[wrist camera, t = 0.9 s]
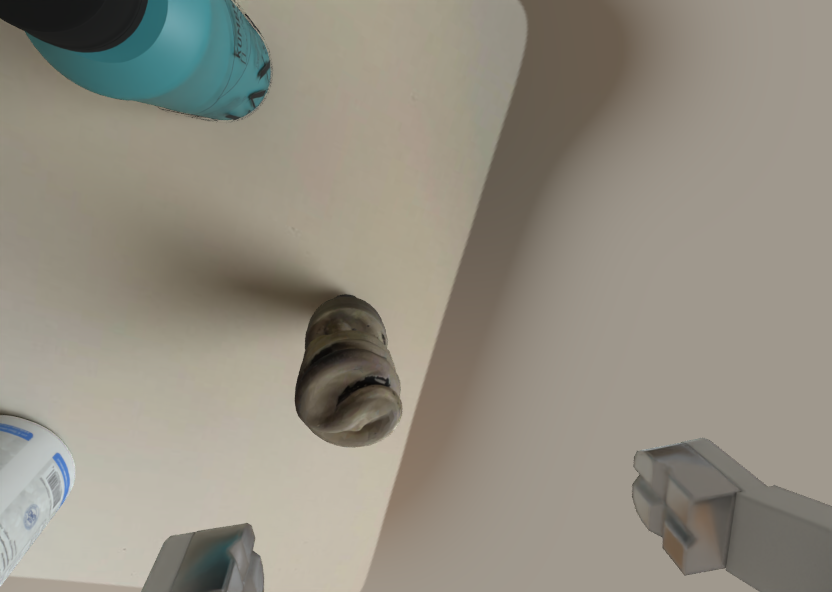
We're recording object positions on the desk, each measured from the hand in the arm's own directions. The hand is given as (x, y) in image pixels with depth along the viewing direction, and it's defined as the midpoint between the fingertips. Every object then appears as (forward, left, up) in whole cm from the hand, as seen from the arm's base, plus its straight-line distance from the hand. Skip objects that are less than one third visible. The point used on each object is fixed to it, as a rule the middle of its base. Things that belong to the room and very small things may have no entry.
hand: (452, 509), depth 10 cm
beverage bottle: (-6, -14, -27) cm, 31 cm away
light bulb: (+6, 0, -27) cm, 28 cm away
